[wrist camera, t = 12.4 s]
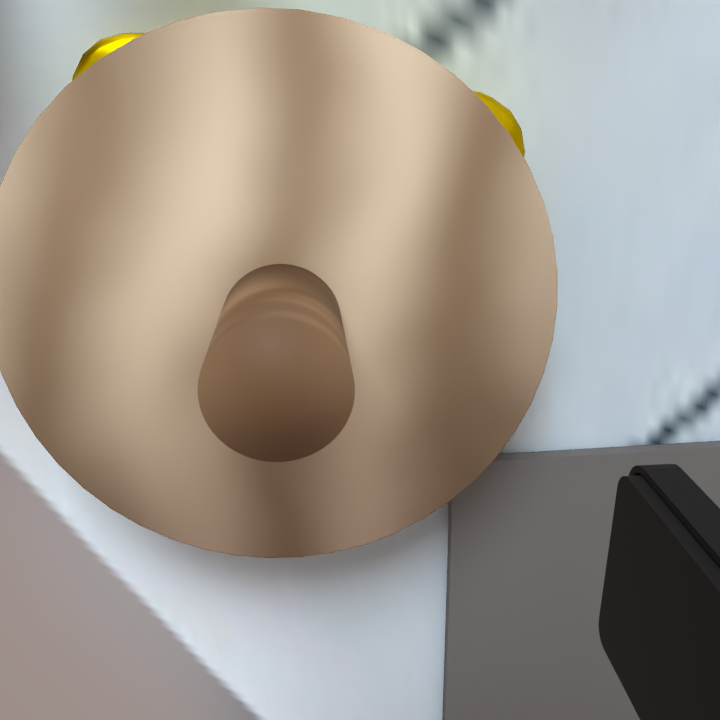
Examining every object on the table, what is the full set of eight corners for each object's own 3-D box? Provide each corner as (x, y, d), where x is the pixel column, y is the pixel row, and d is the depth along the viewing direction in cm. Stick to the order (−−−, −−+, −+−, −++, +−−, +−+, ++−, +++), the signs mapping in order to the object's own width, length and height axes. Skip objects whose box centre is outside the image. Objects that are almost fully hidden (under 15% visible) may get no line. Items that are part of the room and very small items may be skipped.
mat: (903, 429, 33) (913, 435, 33) (805, 761, 41) (812, 770, 41) (451, 456, 32) (453, 463, 31) (439, 796, 40) (442, 806, 39)
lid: (569, 2, 21) (685, -38, 15) (534, 526, 28) (603, 650, 22) (-72, 19, 20) (-243, -18, 14) (54, 563, 27) (-22, 707, 20)
